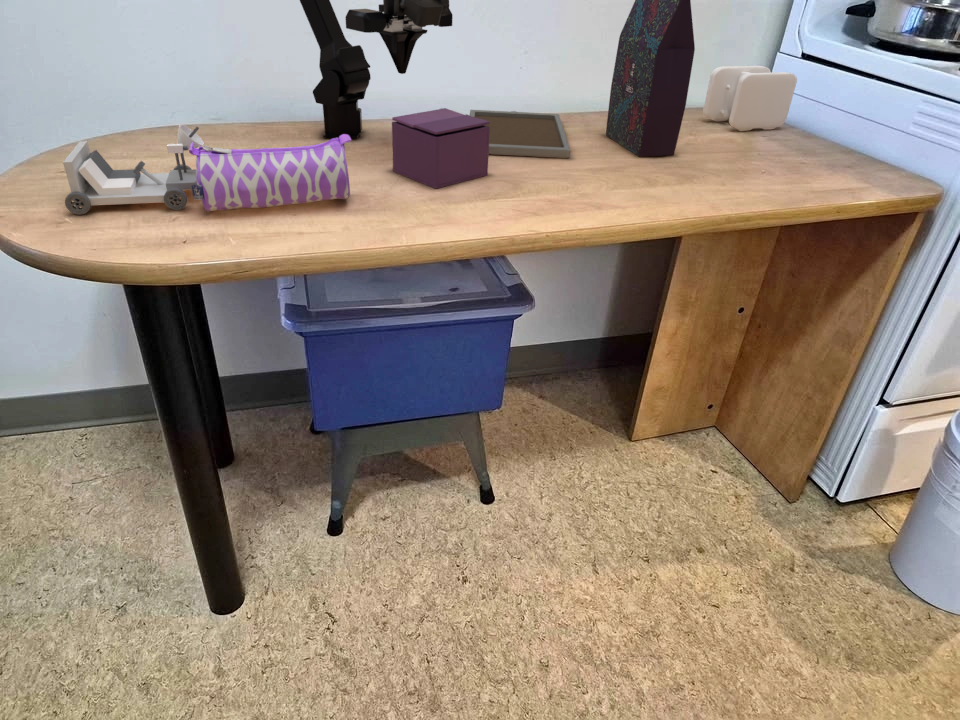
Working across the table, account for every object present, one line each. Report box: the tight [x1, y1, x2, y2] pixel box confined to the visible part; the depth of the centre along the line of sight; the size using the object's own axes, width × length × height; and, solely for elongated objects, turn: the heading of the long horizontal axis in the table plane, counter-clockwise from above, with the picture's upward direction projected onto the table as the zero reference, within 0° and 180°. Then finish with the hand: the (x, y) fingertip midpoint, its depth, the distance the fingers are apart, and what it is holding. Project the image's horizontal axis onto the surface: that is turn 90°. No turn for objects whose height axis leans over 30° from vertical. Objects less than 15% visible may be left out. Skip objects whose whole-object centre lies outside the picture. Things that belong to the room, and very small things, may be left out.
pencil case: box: [188, 134, 352, 212], centre depth 98 cm, size 22×9×10 cm, turn 111°
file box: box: [391, 114, 490, 190], centre depth 113 cm, size 11×12×9 cm
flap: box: [391, 107, 465, 128], centre depth 112 cm, size 5×11×1 cm, turn 134°
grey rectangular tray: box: [469, 109, 571, 159], centre depth 137 cm, size 19×2×30 cm
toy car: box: [62, 123, 205, 215], centre depth 97 cm, size 18×10×12 cm
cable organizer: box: [702, 65, 798, 132], centre depth 150 cm, size 15×11×12 cm
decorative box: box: [605, 0, 696, 158], centre depth 128 cm, size 8×16×28 cm, turn 16°
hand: (401, 73), depth 119 cm, fingers closed
